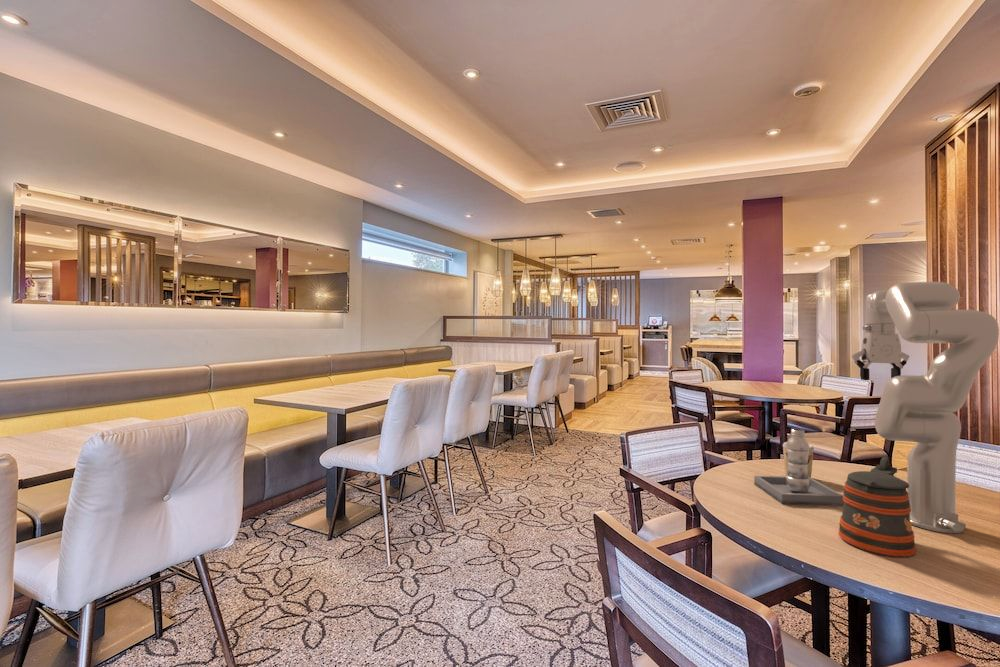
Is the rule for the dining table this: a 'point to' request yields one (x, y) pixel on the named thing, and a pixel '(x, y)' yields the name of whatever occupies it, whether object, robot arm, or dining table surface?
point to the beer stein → (877, 512)
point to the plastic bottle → (797, 462)
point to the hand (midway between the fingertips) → (880, 380)
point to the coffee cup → (810, 459)
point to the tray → (782, 494)
